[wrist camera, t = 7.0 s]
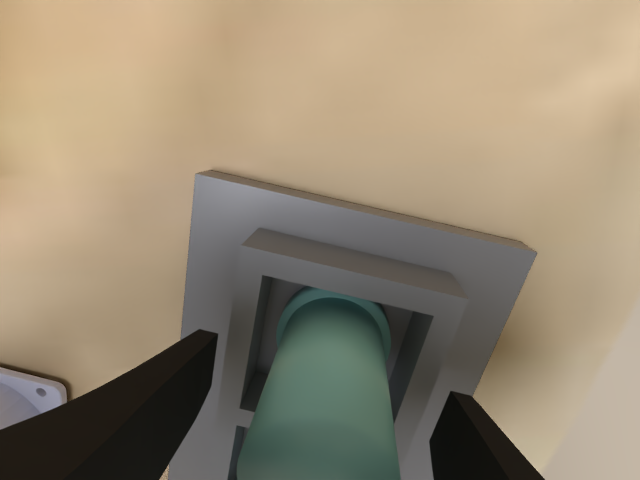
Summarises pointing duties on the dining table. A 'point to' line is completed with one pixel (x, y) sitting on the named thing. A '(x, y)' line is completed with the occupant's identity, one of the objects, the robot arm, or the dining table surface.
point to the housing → (345, 278)
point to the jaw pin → (325, 395)
